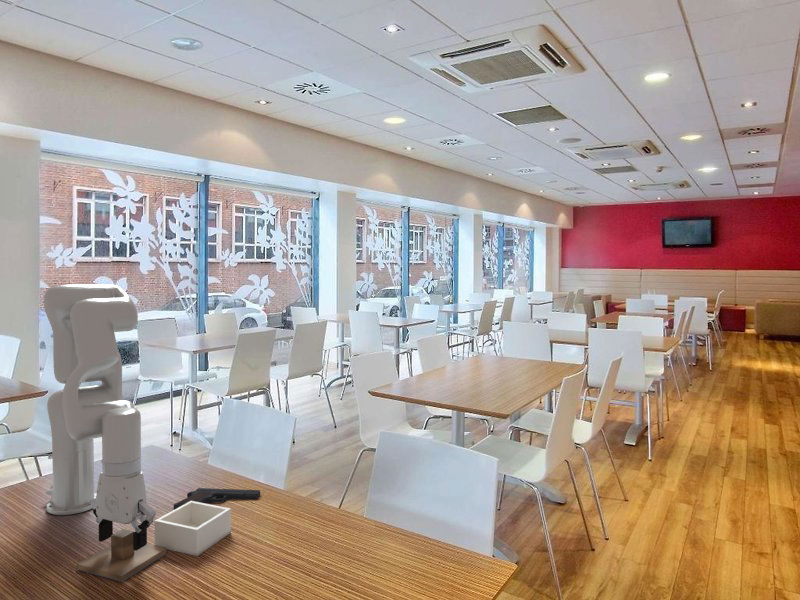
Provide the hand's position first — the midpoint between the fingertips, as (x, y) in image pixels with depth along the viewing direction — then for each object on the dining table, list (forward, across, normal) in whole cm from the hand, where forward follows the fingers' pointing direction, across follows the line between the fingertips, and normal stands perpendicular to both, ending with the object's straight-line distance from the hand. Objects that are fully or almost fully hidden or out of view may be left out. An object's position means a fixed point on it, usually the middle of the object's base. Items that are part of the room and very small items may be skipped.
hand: (122, 543), depth 123 cm
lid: (+4, 0, 0) cm, 4 cm away
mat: (+4, 0, 0) cm, 4 cm away
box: (+4, +7, +14) cm, 16 cm away
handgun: (+5, -1, +33) cm, 33 cm away
